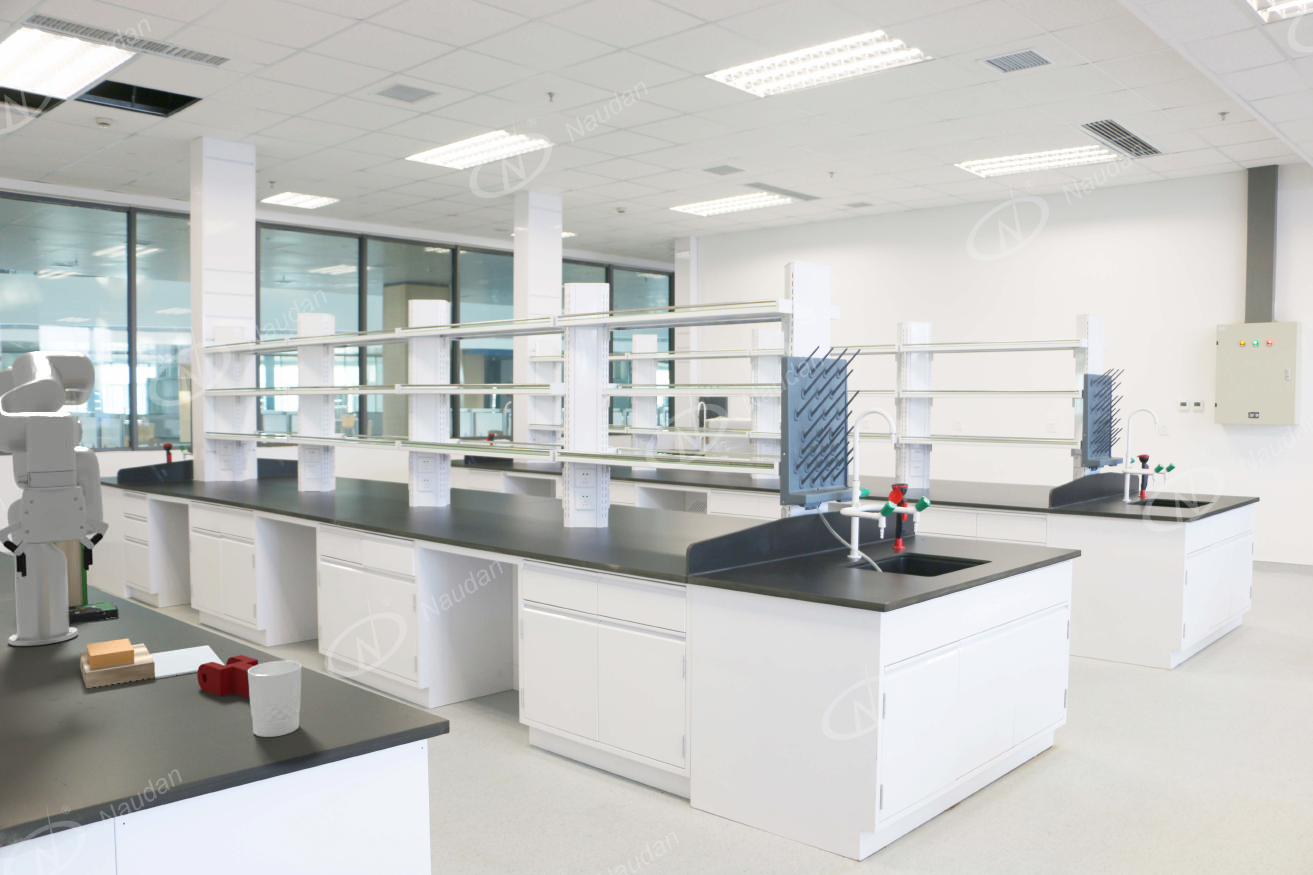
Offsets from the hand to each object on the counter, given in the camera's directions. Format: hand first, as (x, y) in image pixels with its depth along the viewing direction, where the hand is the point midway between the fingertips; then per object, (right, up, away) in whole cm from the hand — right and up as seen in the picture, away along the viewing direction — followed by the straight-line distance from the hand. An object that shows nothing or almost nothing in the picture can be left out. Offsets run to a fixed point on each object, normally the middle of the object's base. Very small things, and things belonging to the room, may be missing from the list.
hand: (55, 572), depth 167 cm
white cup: (+51, -22, -24) cm, 60 cm away
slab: (+7, -17, +6) cm, 19 cm away
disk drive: (-27, -19, +50) cm, 60 cm away
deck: (+8, -20, +6) cm, 23 cm away
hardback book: (-40, -18, +62) cm, 76 cm away
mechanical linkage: (+36, -21, -5) cm, 42 cm away
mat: (+17, -20, +13) cm, 29 cm away
